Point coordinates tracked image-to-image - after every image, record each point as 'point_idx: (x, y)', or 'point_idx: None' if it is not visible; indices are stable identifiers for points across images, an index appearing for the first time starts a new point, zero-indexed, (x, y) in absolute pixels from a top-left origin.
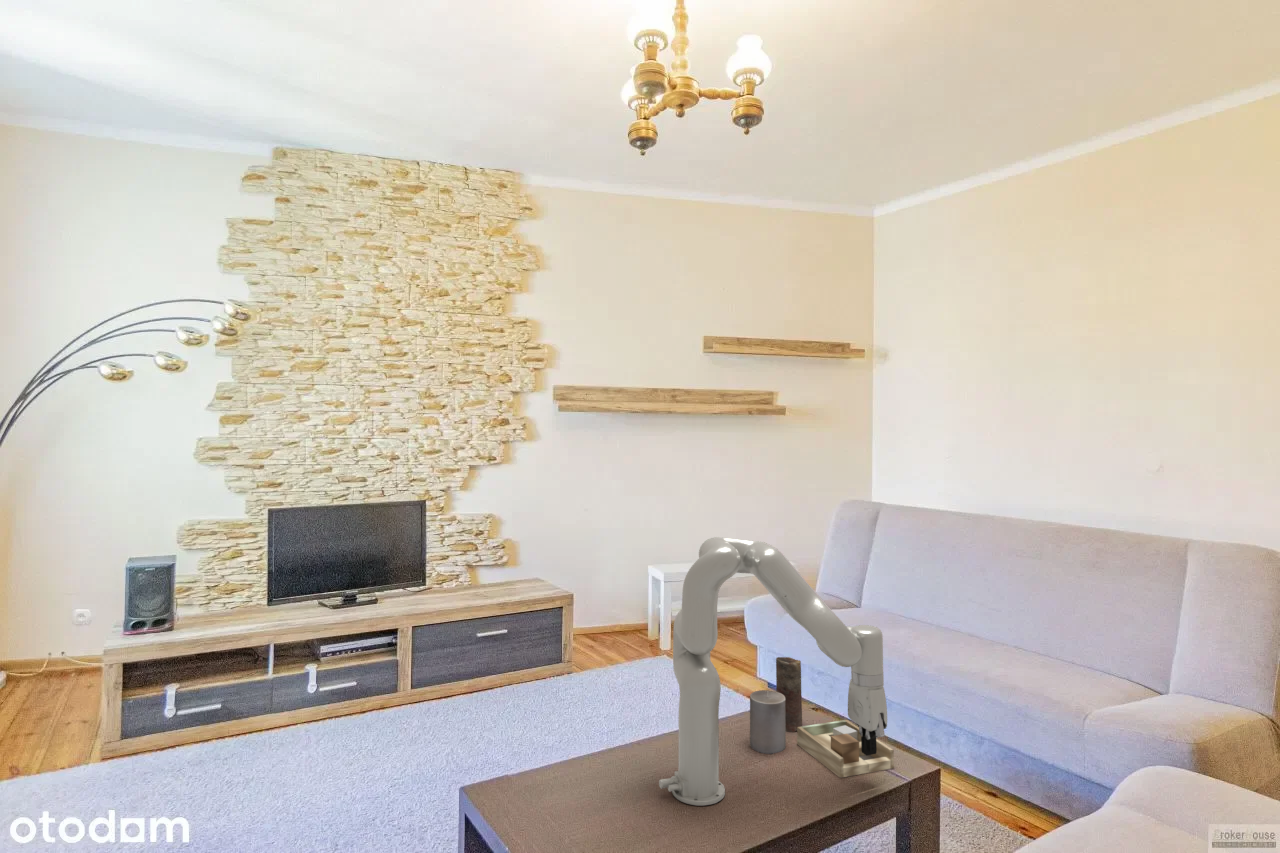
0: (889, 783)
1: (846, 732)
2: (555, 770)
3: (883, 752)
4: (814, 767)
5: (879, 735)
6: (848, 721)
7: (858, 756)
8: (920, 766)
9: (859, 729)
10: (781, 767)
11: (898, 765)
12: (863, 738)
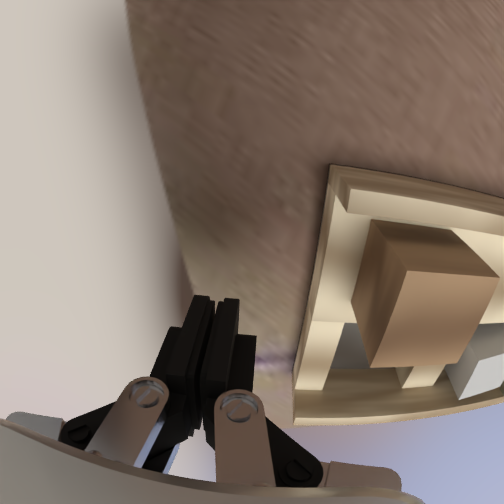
0: None
1: (480, 370)
2: None
3: (333, 398)
4: (452, 142)
5: (17, 420)
6: (498, 401)
7: (355, 313)
8: (271, 420)
9: (262, 433)
10: (493, 36)
11: None
12: (201, 377)
